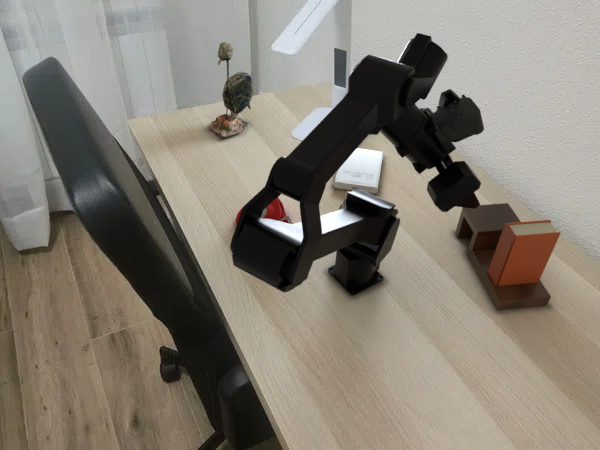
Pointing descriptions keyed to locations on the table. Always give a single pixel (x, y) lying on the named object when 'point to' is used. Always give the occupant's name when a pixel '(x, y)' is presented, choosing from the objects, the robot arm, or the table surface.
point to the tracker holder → (273, 212)
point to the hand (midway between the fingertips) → (465, 187)
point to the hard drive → (360, 171)
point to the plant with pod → (232, 97)
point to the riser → (485, 237)
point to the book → (522, 252)
